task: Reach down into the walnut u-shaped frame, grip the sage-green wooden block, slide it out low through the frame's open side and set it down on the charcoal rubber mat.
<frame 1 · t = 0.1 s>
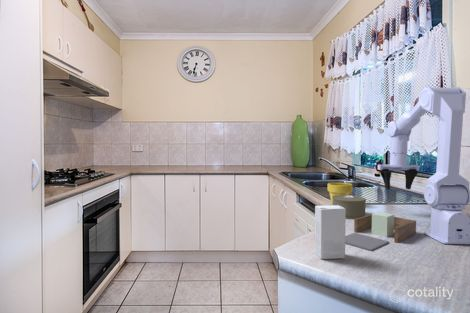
hand: (397, 188, 111), 10 cm above the table, fingers open, 7 cm apart
charcoal mat: (362, 241, 80), on the table
plant pot: (339, 206, 128), on the table
walnut u-shaped frame: (384, 233, 88), on the table
skincare box: (329, 257, 70), on the table
can: (348, 216, 111), on the table
sage block: (382, 233, 88), on the table
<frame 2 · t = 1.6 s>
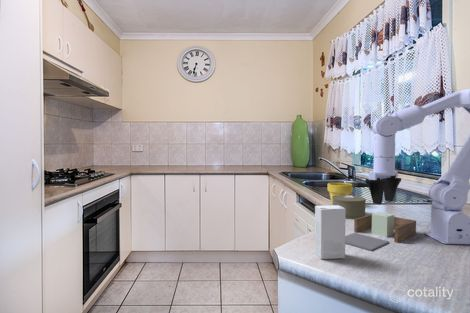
hand: (383, 202, 87), 10 cm above the table, fingers open, 7 cm apart
nothing on the table moved.
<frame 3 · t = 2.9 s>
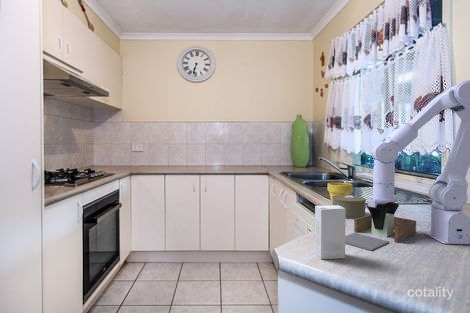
hand: (382, 227, 88), 2 cm above the table, fingers closed on sage block, 4 cm apart
sage block: (382, 233, 88), on the table, touching gripper
everything else where it was.
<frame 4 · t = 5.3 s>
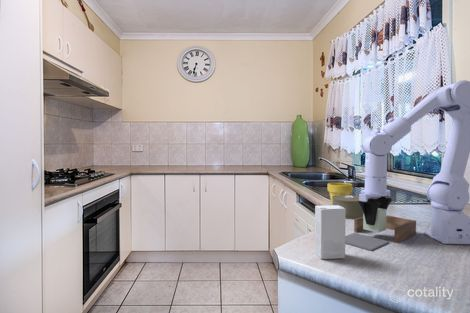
hand: (374, 223, 84), 4 cm above the table, fingers closed on sage block, 4 cm apart
sage block: (374, 229, 85), point 2 cm above the table, touching gripper
everything else where it was.
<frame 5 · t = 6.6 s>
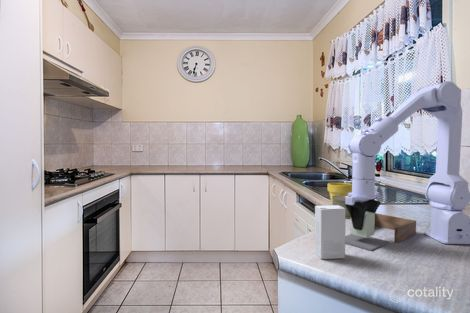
hand: (362, 227, 80), 4 cm above the table, fingers closed on sage block, 4 cm apart
sage block: (362, 234, 80), point 2 cm above the table, touching gripper
everything else where it was.
when the fingers open (3 cm above the table, at t = 7.7 s): sage block stays where it is, resting on charcoal mat.
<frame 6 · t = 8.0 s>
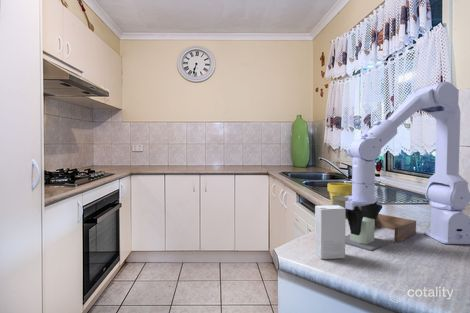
hand: (362, 231, 80), 3 cm above the table, fingers open, 7 cm apart
sage block: (362, 240, 80), resting on charcoal mat
everything else where it was.
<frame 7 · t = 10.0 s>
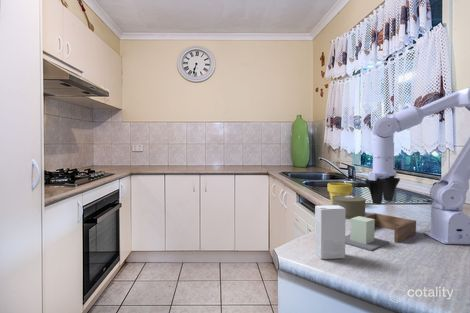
hand: (382, 202, 89), 9 cm above the table, fingers open, 7 cm apart
nothing on the table moved.
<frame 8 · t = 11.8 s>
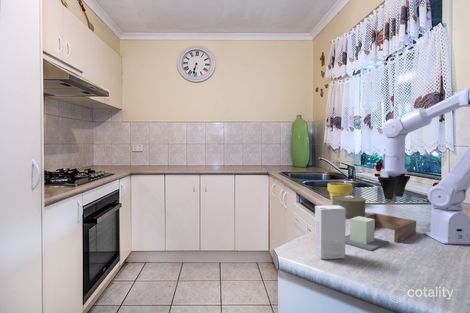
hand: (393, 197, 96), 9 cm above the table, fingers open, 7 cm apart
nothing on the table moved.
at the end: sage block 0.0 cm off-centre on the charcoal mat, point 0.4 cm above the charcoal mat's base; sage block tilted 0°; the gripper is holding nothing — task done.
